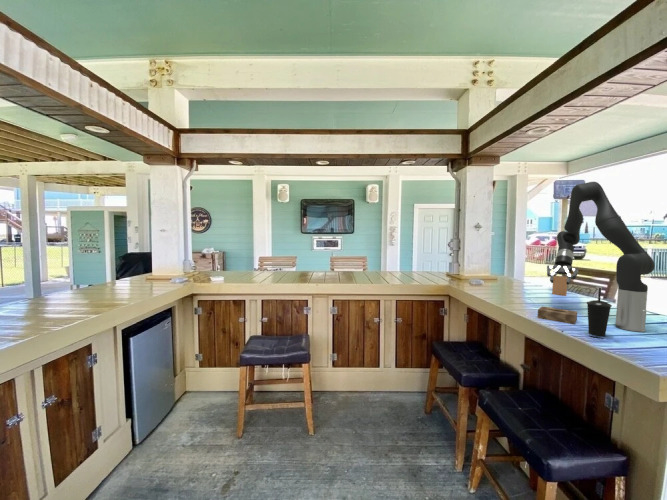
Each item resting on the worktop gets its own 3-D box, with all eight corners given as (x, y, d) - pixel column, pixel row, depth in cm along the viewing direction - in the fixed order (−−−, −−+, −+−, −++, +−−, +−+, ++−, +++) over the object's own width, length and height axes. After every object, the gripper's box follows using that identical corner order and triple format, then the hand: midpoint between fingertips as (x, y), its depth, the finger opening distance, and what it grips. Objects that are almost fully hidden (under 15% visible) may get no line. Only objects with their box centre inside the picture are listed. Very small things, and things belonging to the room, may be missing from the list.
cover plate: (566, 295, 160) (567, 276, 159) (566, 296, 159) (567, 277, 158) (552, 293, 164) (553, 275, 163) (552, 294, 163) (553, 275, 162)
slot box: (576, 322, 143) (577, 311, 143) (574, 326, 136) (575, 315, 136) (541, 316, 153) (541, 306, 153) (537, 320, 146) (537, 309, 145)
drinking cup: (587, 338, 121) (591, 288, 120) (581, 332, 128) (585, 285, 127) (612, 341, 118) (616, 290, 116) (605, 335, 124) (608, 287, 123)
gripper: (547, 253, 170) (542, 276, 163) (580, 255, 161) (576, 280, 153) (548, 262, 175) (543, 285, 167) (580, 264, 165) (577, 289, 157)
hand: (559, 282), depth 160 cm, fingers closed on cover plate, 6 cm apart
